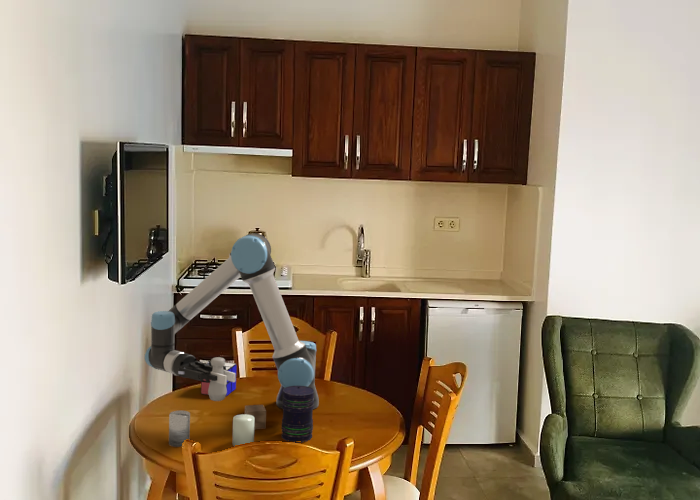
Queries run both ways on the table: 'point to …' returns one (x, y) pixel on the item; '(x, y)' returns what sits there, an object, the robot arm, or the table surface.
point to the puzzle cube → (230, 385)
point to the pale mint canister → (243, 429)
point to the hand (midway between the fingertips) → (230, 378)
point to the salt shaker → (216, 389)
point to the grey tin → (179, 427)
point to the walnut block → (257, 415)
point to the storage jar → (297, 413)
